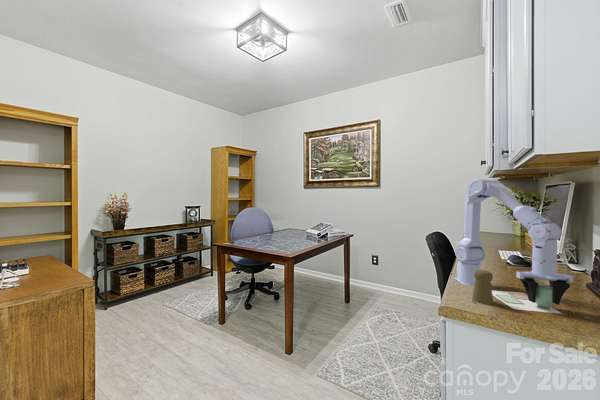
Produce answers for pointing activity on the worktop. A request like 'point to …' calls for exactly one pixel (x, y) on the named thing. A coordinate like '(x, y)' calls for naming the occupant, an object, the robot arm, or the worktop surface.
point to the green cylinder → (544, 296)
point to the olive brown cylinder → (482, 287)
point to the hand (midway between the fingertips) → (543, 302)
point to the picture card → (520, 301)
